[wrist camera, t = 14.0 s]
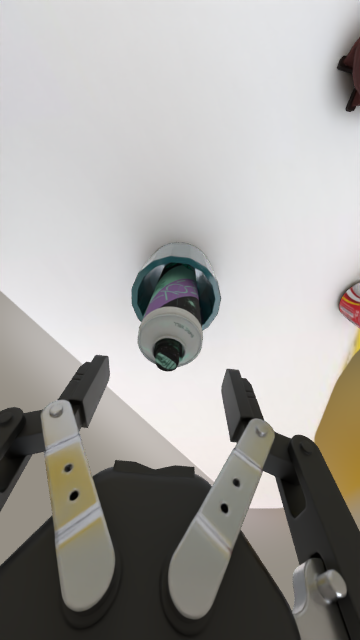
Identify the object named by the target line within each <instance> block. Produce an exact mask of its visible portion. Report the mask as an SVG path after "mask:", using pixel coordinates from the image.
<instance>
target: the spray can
mask: <svg viewBox="0 0 360 640" xmlns="http://www.w3.org/2000/svg"><path fill="white" fill-rule="evenodd" d="M202 340H203V332H202V323H201V315H200V306H199V298H198V289H197V281H196V274H195V271H194V269H193V267H192V266H190V265H189V264H182V263H173V262H171V263H168V264H167V265H166V266H165V267H164V268H163V270H162V273H161V275H160V278H159V280H158V282H157V285H156V287H155V290H154V292H153V295H152V297H151V300H150V302H149V305H148V307H147V310H146V312H145V315H144V317H143V320H142V322H141V324H140V327H139V332H138V346H139V349H140V351H141V352H142V354H143V355H144V356H145V357H146V358H147V359H148V360H149V361H151V362H152V363H154V364H156V365H157V367H158V368H159V369H161V370H163V371H172V370H175V369H176V368H177V367H180V366H183V365H186V364H188V363H190V362H192V361H193V360H194V359H195V358H196V357H197V356H198V354H199V353H200V350H201V348H202Z"/></svg>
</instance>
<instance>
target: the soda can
mask: <svg viewBox="0 0 360 640" xmlns="http://www.w3.org/2000/svg"><path fill="white" fill-rule="evenodd" d="M339 309H340V312H341V313H342V314H343V315H344V316H345V317H346V318H347V319H348V320H349V321H351V322H352V323H353V324H355V325H356V326H357V327H359V328H360V283H357V284H356V285H354V286H352V287H351V288H350V289H348V290H347V291H346V293H345V294H344V295H343V297H342V298H341V301H340V305H339Z"/></svg>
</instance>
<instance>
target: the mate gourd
mask: <svg viewBox="0 0 360 640" xmlns="http://www.w3.org/2000/svg"><path fill="white" fill-rule="evenodd" d="M337 69H339V70H342V71H345V72H348V73H351V74H352V76H353V82H354V87H355V88H354V91H353V93H352V95H351V97H350V100H349V102H348V104H347V107H346V111H349V112H351V111H354V109H355V108H356V106H360V37H359V39H358V40H357V41H356V42H355V44H354V45H353V47H352V48H351V50H350V52H349V54H348V55H347V56H343V57H342V58H341V59H340V61H339V64H338V66H337Z"/></svg>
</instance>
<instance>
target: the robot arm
mask: <svg viewBox="0 0 360 640" xmlns="http://www.w3.org/2000/svg"><path fill="white" fill-rule="evenodd" d="M109 377H110V370H109V358H108V356H102V355H96V356H95V357H94V358H93V360H92V362H86V363H84V364H83V365H82V366H80V367H79V369H78V370H77V372H76V374H75V375H74V376H73V378H72V380H71V381H70V382H69V384H68V385H67V387H66V388H65V390H64V391H63V393H62V394H61V396H60V398H59V399H58V400H57V401H54V402H52V403H50V404H48V405H47V406H46V407H45V408H44V409H43V410H39V411H34V412H28V413H23V411H22V410H21V409H20V408H16V407H13V408H7V409H5V410H2V411H0V511H1V509H2V508H3V506H4V504H5V502H6V501H7V499H8V497H9V495H10V493H11V492H12V490H13V488H14V486H15V485H16V483H17V481H18V479H19V477H20V476H21V474H22V472H23V470H24V469H25V466H26V465H27V463H28V461H29V460H30V458H31V456H32V454H35V453H40V452H44V456H45V464H46V471H47V479H48V486H49V493H50V500H51V507H52V516H51V517H50V518H49V519H48V520H47V521H46V522H45V523H44V524H43V525H42V526H41V527H40V528H39V529H38V530H37V531H36V532H35V533H33V534H32V535H31V537H29V538H28V539H27V540H26V541H25V542H24V543H23V544H22V545H21V546H20V547H19V548H18V549H17V550H16V551H15V552H14V553H13V554H12V555H11V556H10V557H9V558H8V559H7V560H6V561H5V562H4V563H3V564H1V566H0V640H360V531H359V529H358V527H357V525H356V523H355V521H354V519H353V517H352V515H351V513H350V511H349V509H348V507H347V505H346V503H345V501H344V499H343V497H342V495H341V493H340V491H339V488H338V487H337V485H336V483H335V480H334V479H333V477H332V474H331V472H330V470H329V468H328V466H327V464H326V462H325V460H324V458H323V456H322V454H321V452H320V450H319V448H318V447H317V445H316V444H315V443H314V442H313V441H312V440H310V439H309V438H307V437H305V436H303V435H295V436H293V437H292V439H291V438H288V437H286V436H283V435H281V434H278V433H276V432H275V431H274V430H273V429H272V427H271V426H270V425H269V424H268V423H267V422H266V421H264V418H263V416H262V413H261V410H260V407H259V405H258V402H257V399H256V396H255V394H254V391H253V388H252V385H251V384H250V383H249V381H248V380H247V379H246V378H241V375H240V372H239V370H234V369H227V370H226V373H225V376H224V380H223V383H222V389H221V391H222V398H223V404H224V409H225V414H226V420H227V425H228V430H229V436H230V441H231V442H237V445H236V446H235V448H234V449H233V450H232V452H231V454H230V456H229V457H228V459H227V461H226V463H225V464H224V466H223V468H222V470H221V472H220V473H219V475H218V477H217V479H216V480H215V482H214V484H213V486H211V485H210V484H209V483H208V482H207V481H206V480H205V479H203V478H202V477H200V476H199V475H196V474H195V472H194V467H187V466H170V467H165V468H161V469H156V470H155V469H151V468H149V467H146V466H144V465H141V464H139V463H137V462H131V461H119V460H115V464H114V467H111V468H107V469H105V470H103V471H101V472H99V473H97V474H96V475H94V476H93V477H92V474H91V470H90V467H89V464H88V460H87V457H86V453H85V450H84V447H83V443H82V439H81V436H80V434H79V431H80V429H81V427H84V428H88V426H89V424H90V421H91V419H92V417H93V414H94V412H95V410H96V408H97V405H98V404H99V401H100V399H101V397H102V395H103V392H104V390H105V388H106V386H107V383H108V381H109ZM263 471H265V472H267V473H269V474H271V475H274V476H275V478H276V482H277V485H278V489H279V492H280V496H281V500H282V503H283V507H284V510H285V514H286V518H287V521H288V525H289V528H290V532H291V535H292V539H293V543H294V546H295V550H296V553H297V557H298V561H299V564H300V566H298V567H297V568H296V569H295V571H294V574H293V588H294V596H295V602H294V608H293V610H292V611H291V609H290V606H289V604H288V602H287V601H286V599H285V597H284V595H283V594H282V592H281V590H280V589H279V587H278V586H277V584H276V583H275V581H274V580H273V578H272V577H271V575H270V574H269V572H268V571H267V569H266V567H265V566H264V565H263V563H262V561H261V560H260V558H259V557H258V555H257V554H256V552H255V551H254V549H253V548H252V546H251V545H250V543H249V541H248V540H247V539H246V537H245V535H244V534H243V532H242V531H241V527H242V524H243V521H244V519H245V516H246V514H247V511H248V509H249V506H250V504H251V501H252V498H253V496H254V493H255V491H256V488H257V485H258V483H259V480H260V478H261V475H262V472H263Z"/></svg>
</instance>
